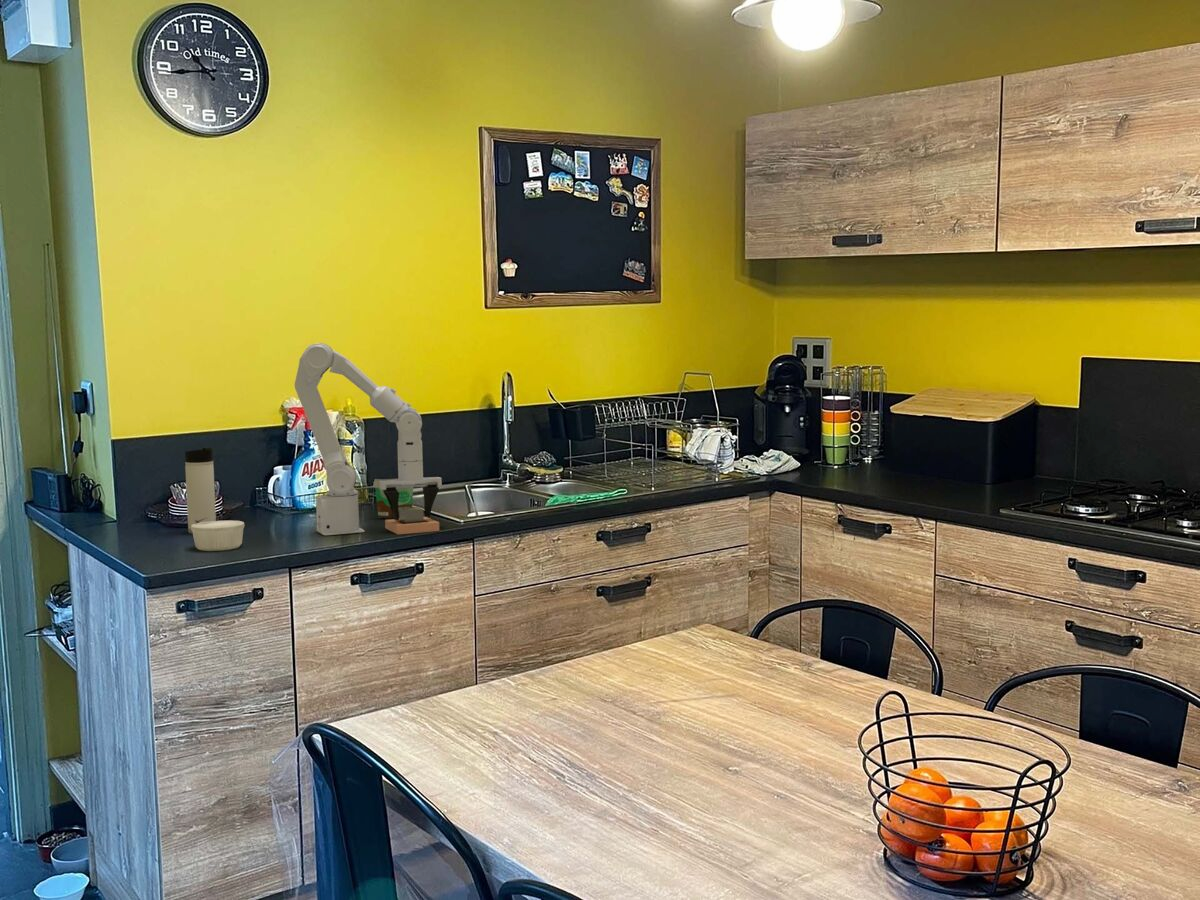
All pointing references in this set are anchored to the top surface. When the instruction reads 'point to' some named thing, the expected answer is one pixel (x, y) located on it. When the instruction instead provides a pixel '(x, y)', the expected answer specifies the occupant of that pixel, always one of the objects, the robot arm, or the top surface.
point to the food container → (383, 503)
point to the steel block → (411, 515)
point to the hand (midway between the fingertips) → (411, 518)
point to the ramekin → (218, 535)
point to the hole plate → (412, 526)
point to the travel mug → (200, 486)
